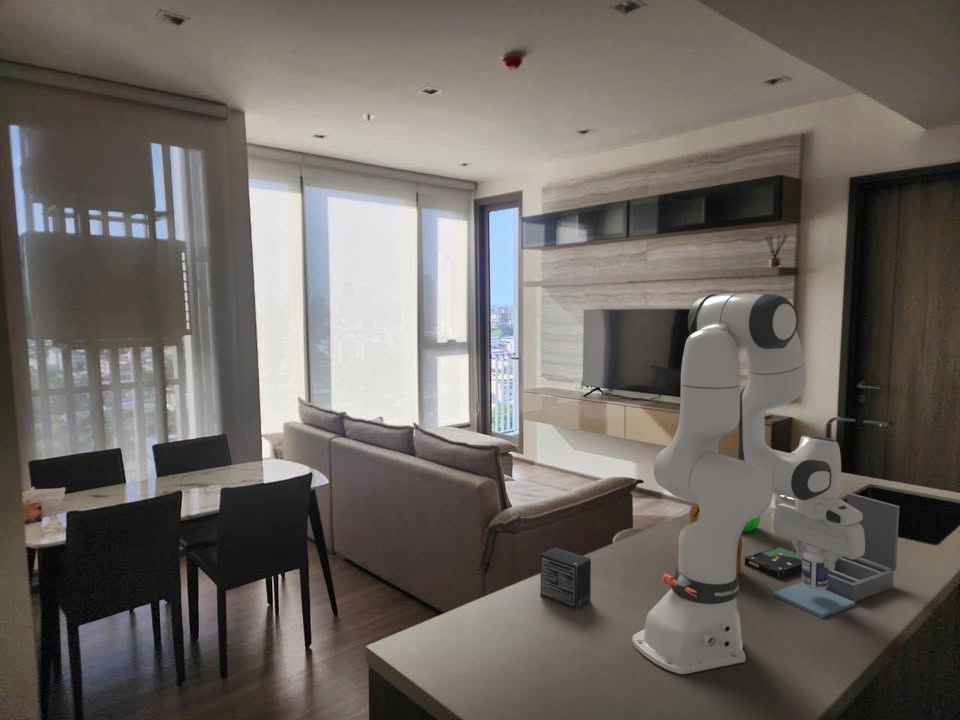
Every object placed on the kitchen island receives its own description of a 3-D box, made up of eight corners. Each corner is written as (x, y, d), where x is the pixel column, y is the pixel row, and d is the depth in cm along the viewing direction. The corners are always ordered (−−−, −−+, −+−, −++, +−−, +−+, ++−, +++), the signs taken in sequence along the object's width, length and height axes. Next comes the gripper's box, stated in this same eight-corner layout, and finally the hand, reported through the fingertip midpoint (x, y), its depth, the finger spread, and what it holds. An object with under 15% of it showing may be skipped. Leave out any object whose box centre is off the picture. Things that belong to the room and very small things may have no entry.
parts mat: (821, 618, 132) (821, 614, 132) (772, 595, 143) (773, 592, 143) (854, 605, 138) (854, 602, 138) (805, 584, 149) (805, 581, 149)
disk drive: (779, 582, 151) (815, 569, 158) (779, 571, 151) (815, 558, 158) (743, 567, 160) (779, 555, 167) (743, 556, 160) (779, 545, 167)
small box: (592, 601, 141) (592, 557, 140) (576, 611, 136) (576, 566, 136) (555, 587, 148) (555, 545, 147) (539, 596, 144) (539, 553, 143)
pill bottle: (828, 583, 141) (830, 542, 140) (827, 592, 137) (828, 550, 136) (802, 577, 144) (803, 538, 143) (800, 586, 140) (801, 545, 139)
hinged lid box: (852, 602, 139) (856, 517, 138) (800, 580, 151) (803, 501, 149) (895, 586, 147) (899, 506, 145) (842, 566, 159) (845, 491, 157)
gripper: (767, 494, 146) (766, 550, 148) (852, 521, 128) (850, 583, 130) (785, 491, 149) (783, 545, 150) (870, 515, 131) (867, 577, 132)
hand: (815, 563), depth 140 cm, fingers closed on pill bottle, 5 cm apart
